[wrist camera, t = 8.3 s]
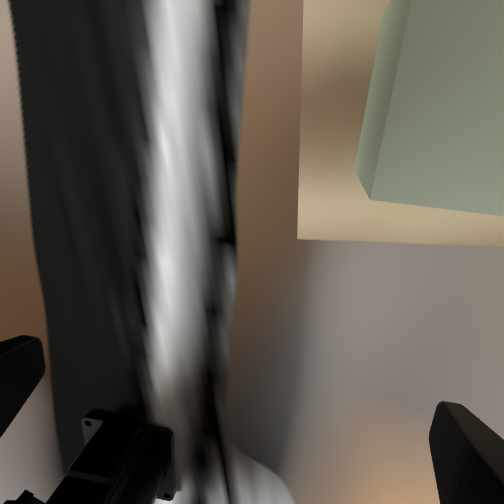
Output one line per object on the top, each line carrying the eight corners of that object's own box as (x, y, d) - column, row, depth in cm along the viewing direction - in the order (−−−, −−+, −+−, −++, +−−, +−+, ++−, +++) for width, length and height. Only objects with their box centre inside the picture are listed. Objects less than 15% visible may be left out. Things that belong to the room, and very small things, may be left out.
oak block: (523, 220, 17) (577, 250, 13) (302, 213, 19) (297, 238, 15) (589, -46, 13) (688, -106, 10) (310, -23, 15) (305, -66, 12)
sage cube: (498, 186, 13) (594, 227, 8) (353, 169, 14) (369, 200, 9) (553, 22, 11) (715, -40, 7) (383, 12, 12) (422, -51, 7)
